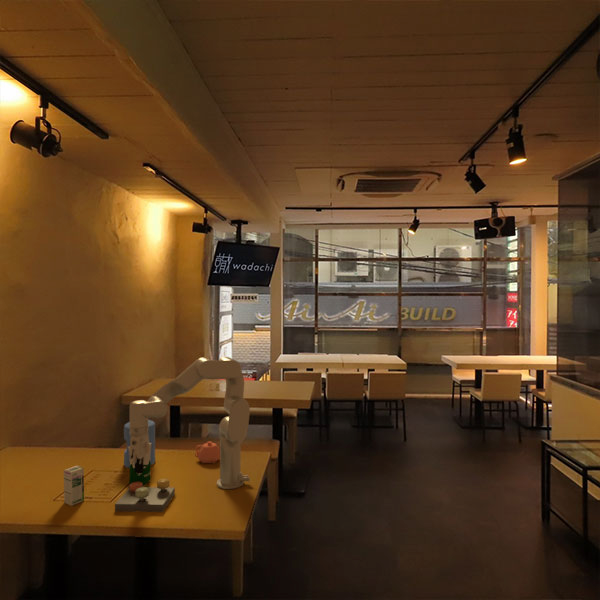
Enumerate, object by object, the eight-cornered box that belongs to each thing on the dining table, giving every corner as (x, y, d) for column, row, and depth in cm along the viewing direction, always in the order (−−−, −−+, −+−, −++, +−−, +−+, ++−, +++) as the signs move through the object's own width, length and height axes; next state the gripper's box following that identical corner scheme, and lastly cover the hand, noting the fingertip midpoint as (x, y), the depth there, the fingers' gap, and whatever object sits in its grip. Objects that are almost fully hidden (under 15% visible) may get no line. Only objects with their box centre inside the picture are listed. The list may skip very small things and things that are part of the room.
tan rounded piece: (170, 489, 197) (171, 478, 197) (167, 495, 191) (167, 483, 191) (159, 489, 197) (159, 478, 197) (155, 494, 192) (155, 483, 191)
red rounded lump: (144, 492, 197) (144, 481, 197) (139, 498, 192) (139, 486, 192) (132, 492, 197) (132, 481, 197) (127, 498, 192) (127, 486, 192)
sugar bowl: (218, 465, 231) (218, 446, 231) (192, 465, 231) (192, 445, 231) (223, 456, 243) (223, 438, 243) (197, 456, 243) (197, 438, 243)
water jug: (143, 455, 243) (143, 405, 243) (161, 462, 234) (161, 409, 234) (117, 464, 231) (117, 411, 230) (135, 471, 222) (135, 416, 221)
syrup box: (71, 506, 186) (71, 472, 186) (63, 502, 189) (63, 469, 189) (84, 501, 191) (84, 467, 190) (76, 497, 194) (76, 464, 194)
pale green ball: (150, 498, 188) (150, 487, 188) (145, 504, 183) (145, 492, 182) (138, 498, 188) (138, 487, 188) (133, 504, 183) (133, 492, 183)
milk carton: (136, 477, 215) (136, 437, 214) (153, 479, 213) (153, 438, 212) (126, 485, 206) (126, 443, 206) (143, 487, 204) (143, 444, 204)
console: (174, 494, 198) (174, 487, 198) (163, 511, 182) (163, 504, 182) (130, 493, 198) (130, 486, 198) (114, 511, 182) (114, 503, 182)
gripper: (140, 435, 182) (140, 479, 182) (154, 424, 197) (154, 465, 197) (122, 435, 182) (122, 479, 182) (137, 424, 197) (137, 465, 197)
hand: (139, 472), depth 190 cm, fingers closed
